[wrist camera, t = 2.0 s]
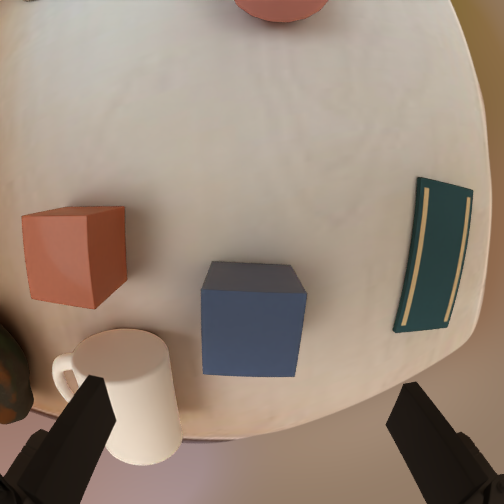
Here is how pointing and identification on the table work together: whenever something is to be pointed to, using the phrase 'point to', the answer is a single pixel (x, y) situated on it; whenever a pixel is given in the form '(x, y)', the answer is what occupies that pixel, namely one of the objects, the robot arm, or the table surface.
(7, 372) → the rock
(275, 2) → the pink vase
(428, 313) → the mat
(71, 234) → the terracotta block
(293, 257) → the table surface
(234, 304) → the blue block
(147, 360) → the mug
